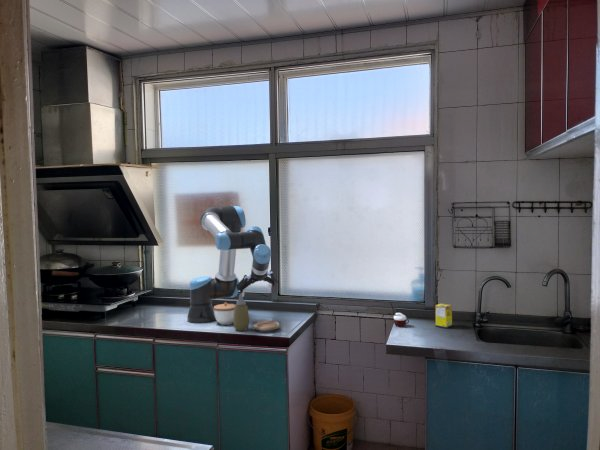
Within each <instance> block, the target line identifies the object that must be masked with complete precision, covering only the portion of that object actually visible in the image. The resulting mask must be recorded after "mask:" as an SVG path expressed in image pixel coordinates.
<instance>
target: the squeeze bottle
mask: <svg viewBox="0 0 600 450" xmlns="http://www.w3.org/2000/svg"><path fill="white" fill-rule="evenodd" d="M235 304H236V306H235V308H234V321H233V323H232V324H233V326H234V329H235V330H236V331H237V332H239V331H240V332H241V331H243V332H244V331H247V330H248V329H249V325H250V315H249V306H248V305H247V304H246V300H244V298H243V296H242V293H239V296H238V299H237V300H236V303H235Z"/></svg>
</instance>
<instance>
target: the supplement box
mask: <svg viewBox="0 0 600 450" xmlns="http://www.w3.org/2000/svg"><path fill="white" fill-rule="evenodd" d="M434 306H435V309H434V310H435V312H434V313H435V328H442V329H448V328H451V327H452V326H453V311H452V310H453V309H452V308H453V306H452V304H449V303H448V304H447V303H438V304H435V305H434Z"/></svg>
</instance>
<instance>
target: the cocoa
mask: <svg viewBox="0 0 600 450" xmlns="http://www.w3.org/2000/svg"><path fill="white" fill-rule="evenodd" d="M389 304H390V307H391V311H392V312H393V323H394V325H395V326H396V327H397V326H398V328H403V327H406V326H407V325H408V324H409V322H410V319H408V318H407V316H406V315H405V314H403V313H401V312H395V310H394V306H393V305H392V304H393V303H392V302H389Z"/></svg>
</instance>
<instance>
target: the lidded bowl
mask: <svg viewBox="0 0 600 450" xmlns="http://www.w3.org/2000/svg"><path fill="white" fill-rule="evenodd" d="M235 306H236V303H227V302H226V301H225V302H224V303H221V304H220V303H219V304H216V305H214V306H213V310H214V316H215V320H216V322H217V323H218V324H219V325H222V326H224V325H225V326H226V325H232V324H234V323H233V321H234V308H235Z"/></svg>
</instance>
